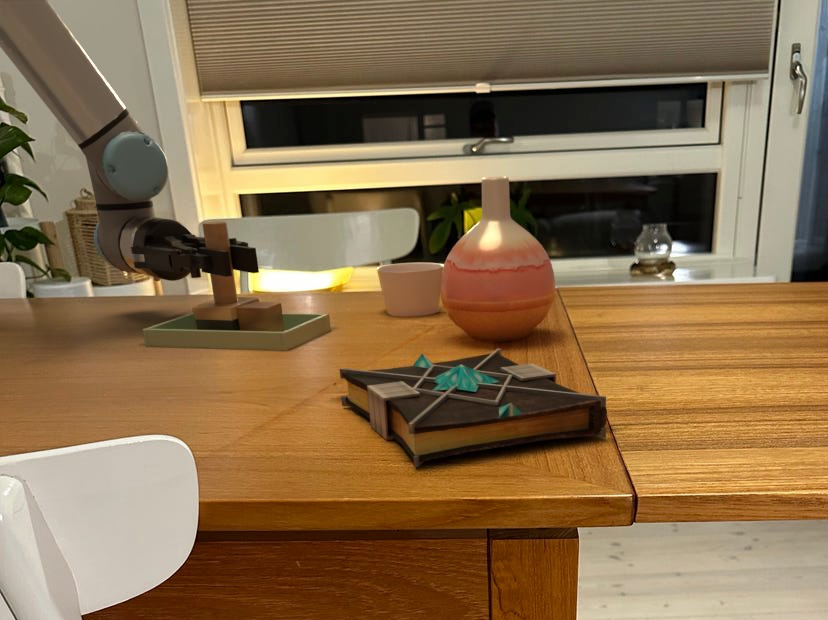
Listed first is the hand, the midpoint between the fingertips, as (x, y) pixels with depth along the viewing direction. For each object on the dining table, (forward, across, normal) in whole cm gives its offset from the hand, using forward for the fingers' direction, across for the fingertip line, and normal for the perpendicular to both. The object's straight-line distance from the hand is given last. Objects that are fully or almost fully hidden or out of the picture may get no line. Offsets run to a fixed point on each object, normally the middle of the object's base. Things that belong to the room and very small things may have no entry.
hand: (240, 262), depth 111 cm
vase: (+18, -24, -10) cm, 32 cm away
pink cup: (-2, -26, -10) cm, 28 cm away
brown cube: (-2, -2, -9) cm, 10 cm away
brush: (-6, 0, -9) cm, 11 cm away
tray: (-4, -1, -10) cm, 11 cm away
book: (+44, +2, -10) cm, 45 cm away
